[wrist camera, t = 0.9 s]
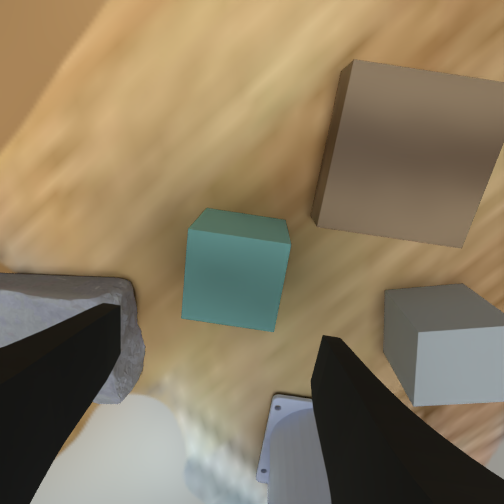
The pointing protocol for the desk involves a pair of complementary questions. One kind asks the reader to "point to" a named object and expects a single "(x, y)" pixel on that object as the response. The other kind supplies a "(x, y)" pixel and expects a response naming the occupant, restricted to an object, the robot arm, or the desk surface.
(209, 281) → the teal cube
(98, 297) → the stone block
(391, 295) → the grey cube
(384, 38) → the desk surface
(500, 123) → the walnut base block
